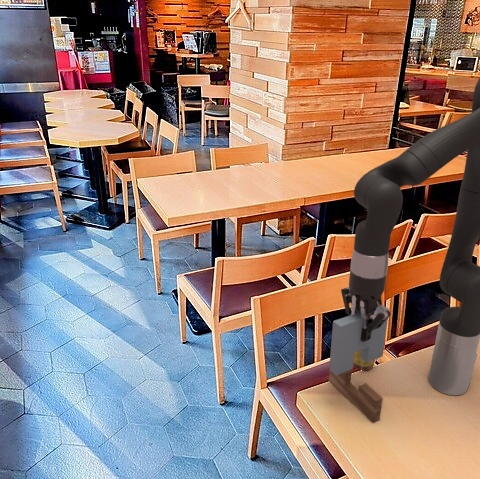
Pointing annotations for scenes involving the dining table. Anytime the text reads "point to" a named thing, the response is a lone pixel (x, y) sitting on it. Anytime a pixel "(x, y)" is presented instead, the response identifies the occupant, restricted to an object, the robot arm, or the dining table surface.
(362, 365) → the sauce bottle
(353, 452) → the dining table surface
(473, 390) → the dining table surface
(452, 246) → the robot arm
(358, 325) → the grey block
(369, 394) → the walnut board
